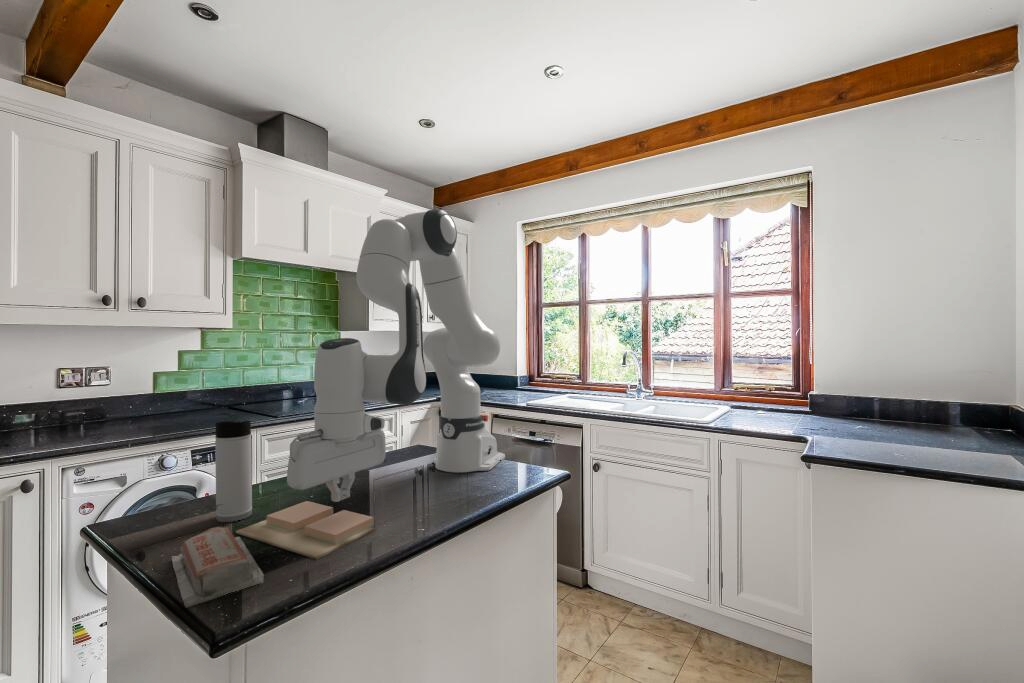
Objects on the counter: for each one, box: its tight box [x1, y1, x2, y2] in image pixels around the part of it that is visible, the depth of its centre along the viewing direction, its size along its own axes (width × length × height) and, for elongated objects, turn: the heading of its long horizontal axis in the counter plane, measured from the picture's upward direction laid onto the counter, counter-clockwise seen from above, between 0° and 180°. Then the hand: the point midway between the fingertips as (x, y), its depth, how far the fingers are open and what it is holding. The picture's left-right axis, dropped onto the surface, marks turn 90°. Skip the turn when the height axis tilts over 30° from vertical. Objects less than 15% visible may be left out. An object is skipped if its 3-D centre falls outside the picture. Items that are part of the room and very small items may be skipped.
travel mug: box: [214, 420, 253, 523], centre depth 94 cm, size 6×7×20 cm
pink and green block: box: [305, 509, 375, 544], centre depth 87 cm, size 2×8×9 cm
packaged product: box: [171, 526, 265, 608], centre depth 73 cm, size 18×5×10 cm
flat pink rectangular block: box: [266, 500, 334, 532], centre depth 92 cm, size 2×8×9 cm
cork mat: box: [235, 519, 376, 560], centre depth 87 cm, size 13×22×1 cm, turn 62°
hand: (340, 499), depth 87 cm, fingers closed
